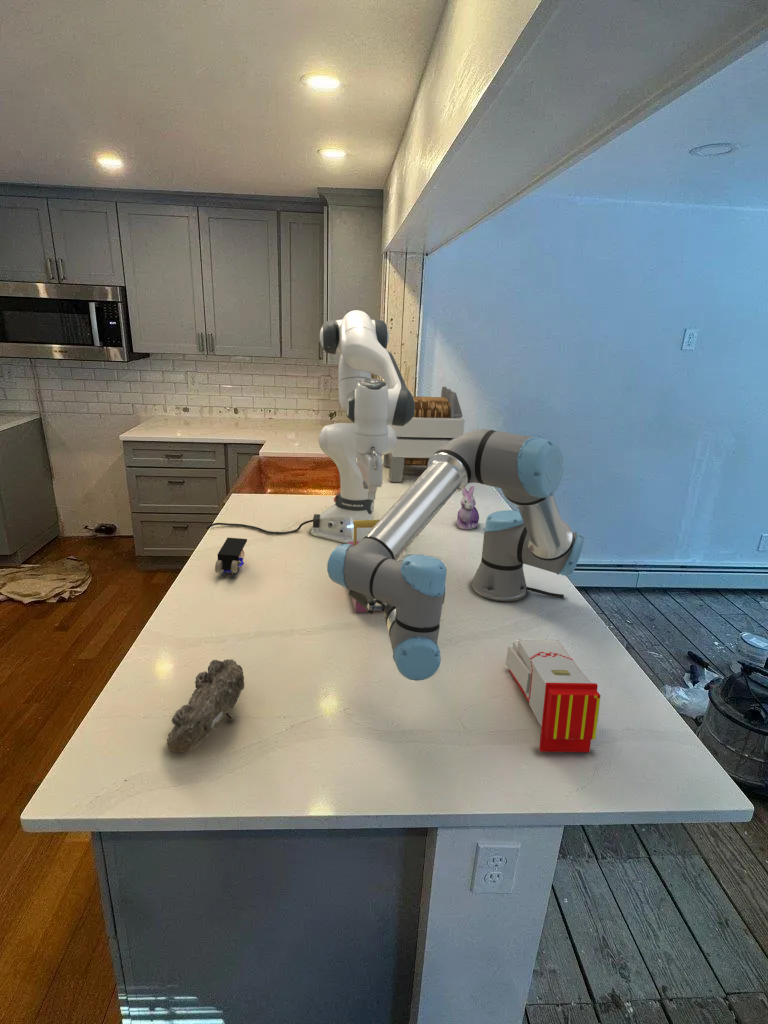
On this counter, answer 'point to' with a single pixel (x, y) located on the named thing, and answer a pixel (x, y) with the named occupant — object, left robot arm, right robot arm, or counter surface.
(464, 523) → the figurine
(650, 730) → the counter surface
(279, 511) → the counter surface
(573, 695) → the toy
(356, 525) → the lid
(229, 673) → the fossil
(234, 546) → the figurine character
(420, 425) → the transformer
